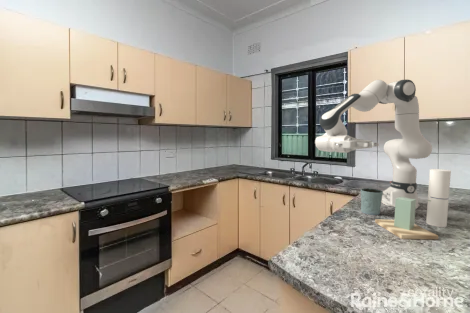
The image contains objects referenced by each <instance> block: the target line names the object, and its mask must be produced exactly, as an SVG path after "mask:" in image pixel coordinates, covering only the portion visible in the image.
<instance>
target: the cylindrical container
mask: <svg viewBox="0 0 470 313" xmlns="http://www.w3.org/2000/svg"><path fill="white" fill-rule="evenodd" d="M451 173H452V170H450V169H441V168H429V176H428V177H429V178H428V189H427V190H428V193H427V195H428V196H427V207H426V220H425V223H426V224H427V225H429V226H432V227H438V228H447V225H448V213H449V212H448V211H449V201H450V188H451V186H450V185H451V175H452V174H451Z"/></svg>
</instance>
